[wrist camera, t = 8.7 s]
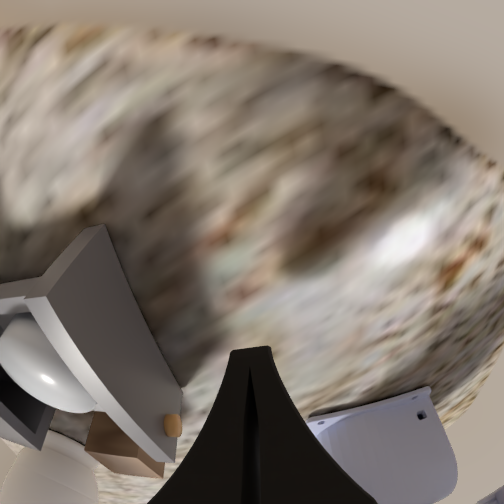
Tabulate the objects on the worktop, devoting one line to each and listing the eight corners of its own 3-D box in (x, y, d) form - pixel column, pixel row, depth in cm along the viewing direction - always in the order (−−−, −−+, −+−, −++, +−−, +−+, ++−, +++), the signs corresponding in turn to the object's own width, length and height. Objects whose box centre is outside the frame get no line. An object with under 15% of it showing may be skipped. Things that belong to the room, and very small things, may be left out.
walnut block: (146, 405, 17) (137, 458, 13) (168, 432, 19) (163, 478, 15) (97, 403, 17) (83, 450, 13) (122, 430, 19) (113, 472, 15)
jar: (85, 433, 20) (57, 572, 7) (123, 471, 25) (110, 578, 12) (7, 410, 20) (-29, 520, 6) (51, 453, 25) (30, 545, 12)
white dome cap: (80, 315, 11) (64, 347, 9) (119, 392, 13) (112, 420, 12) (-5, 306, 10) (-22, 330, 9) (39, 378, 13) (29, 401, 12)
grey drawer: (115, 221, 10) (58, 294, 6) (190, 392, 16) (184, 463, 12) (-32, 261, 11) (-78, 310, 7) (51, 388, 16) (30, 439, 12)
